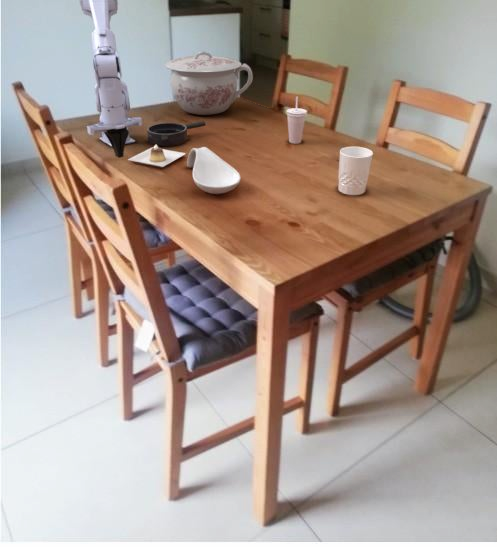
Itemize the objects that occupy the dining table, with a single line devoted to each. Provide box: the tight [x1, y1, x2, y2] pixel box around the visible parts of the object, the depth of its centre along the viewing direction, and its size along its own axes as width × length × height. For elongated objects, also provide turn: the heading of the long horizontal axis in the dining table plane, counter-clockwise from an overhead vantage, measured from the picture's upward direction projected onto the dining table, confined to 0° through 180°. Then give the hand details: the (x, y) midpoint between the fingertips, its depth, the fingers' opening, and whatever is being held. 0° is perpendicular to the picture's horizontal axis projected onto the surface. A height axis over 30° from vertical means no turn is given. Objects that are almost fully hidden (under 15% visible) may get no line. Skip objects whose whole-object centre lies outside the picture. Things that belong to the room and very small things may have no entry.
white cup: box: [337, 146, 374, 196], centre depth 122 cm, size 8×8×10 cm
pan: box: [146, 122, 188, 147], centre depth 156 cm, size 12×12×4 cm
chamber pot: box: [164, 50, 254, 116], centre depth 181 cm, size 28×28×21 cm
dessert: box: [127, 145, 187, 169], centre depth 141 cm, size 12×12×5 cm
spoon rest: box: [186, 146, 241, 195], centre depth 127 cm, size 24×12×7 cm, turn 24°
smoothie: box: [286, 95, 308, 145], centre depth 153 cm, size 6×6×14 cm
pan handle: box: [184, 120, 206, 130], centre depth 160 cm, size 2×8×2 cm, turn 127°
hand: (119, 156), depth 134 cm, fingers closed
